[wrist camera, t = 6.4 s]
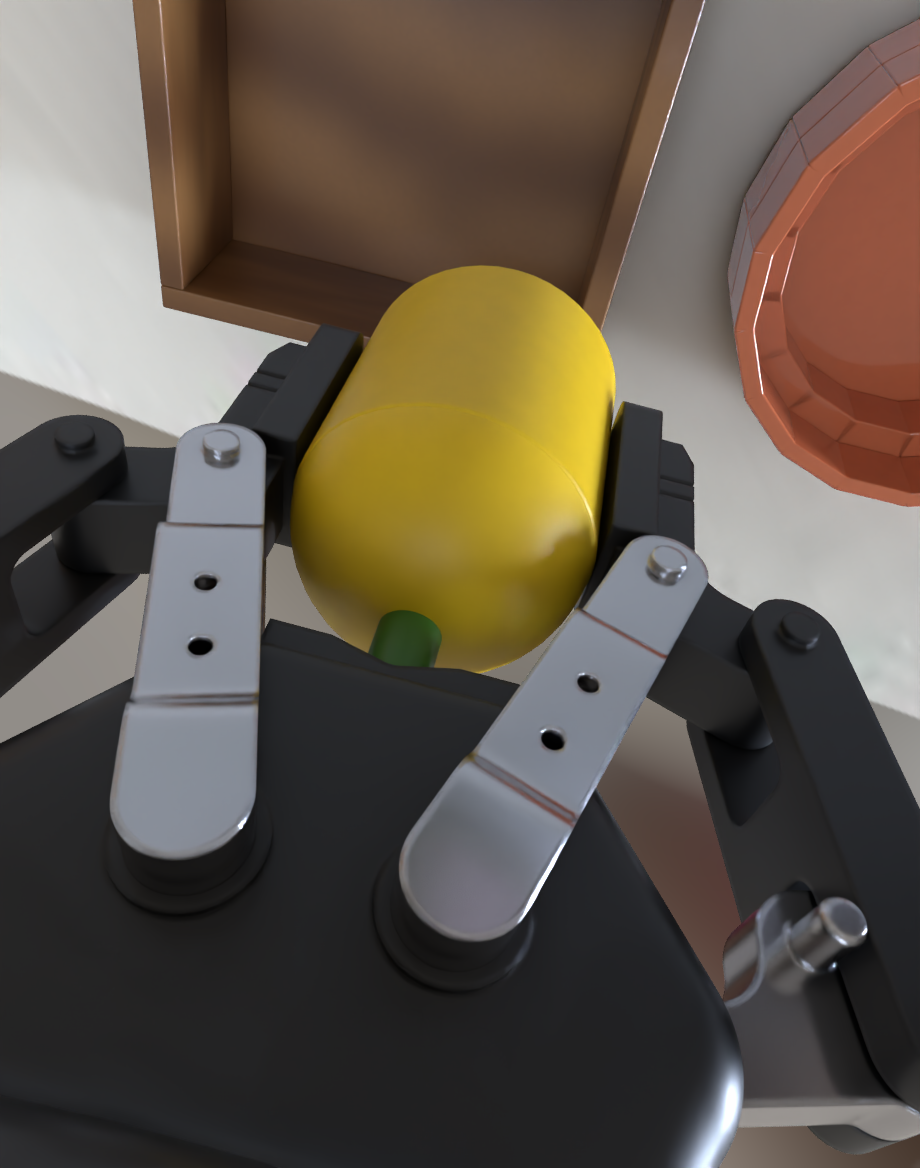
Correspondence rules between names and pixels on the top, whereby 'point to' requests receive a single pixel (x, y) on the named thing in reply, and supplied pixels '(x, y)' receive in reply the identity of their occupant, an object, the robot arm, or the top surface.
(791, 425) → the bowl
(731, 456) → the top surface
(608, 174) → the wooden tray
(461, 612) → the pepper
